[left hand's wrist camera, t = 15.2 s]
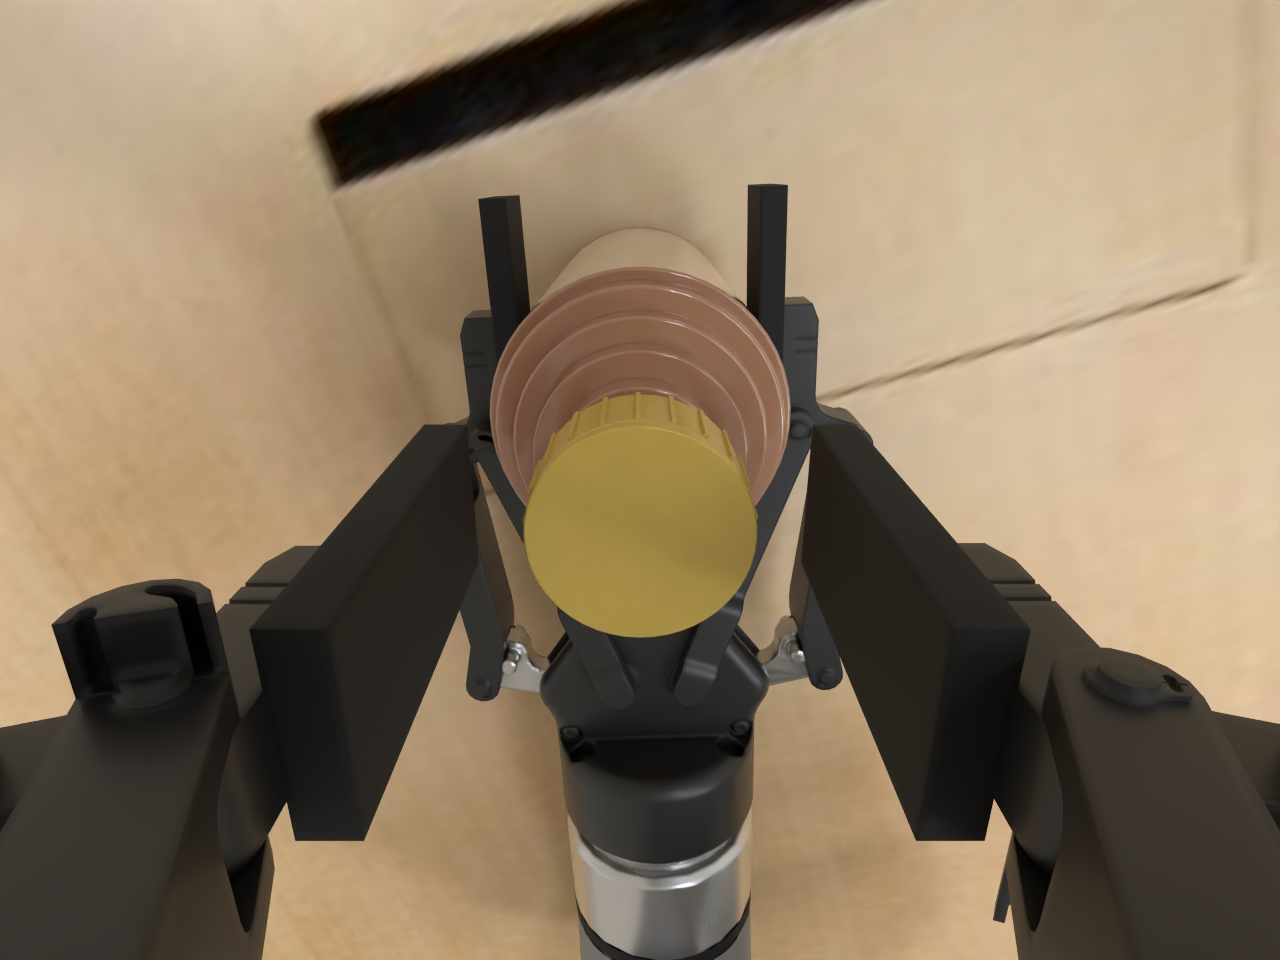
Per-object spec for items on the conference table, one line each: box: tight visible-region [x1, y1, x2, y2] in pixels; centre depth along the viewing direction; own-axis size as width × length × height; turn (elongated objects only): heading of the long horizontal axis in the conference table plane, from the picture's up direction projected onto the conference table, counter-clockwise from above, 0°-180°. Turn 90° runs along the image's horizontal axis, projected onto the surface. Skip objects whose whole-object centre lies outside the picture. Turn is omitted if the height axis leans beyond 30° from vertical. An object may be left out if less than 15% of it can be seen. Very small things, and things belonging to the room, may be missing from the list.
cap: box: [523, 392, 758, 638], centre depth 13 cm, size 4×4×2 cm
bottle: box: [490, 228, 791, 507], centre depth 21 cm, size 7×7×18 cm
